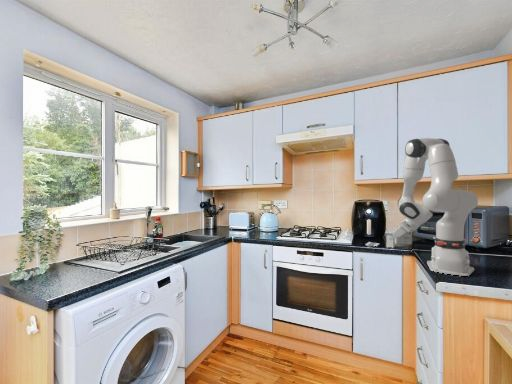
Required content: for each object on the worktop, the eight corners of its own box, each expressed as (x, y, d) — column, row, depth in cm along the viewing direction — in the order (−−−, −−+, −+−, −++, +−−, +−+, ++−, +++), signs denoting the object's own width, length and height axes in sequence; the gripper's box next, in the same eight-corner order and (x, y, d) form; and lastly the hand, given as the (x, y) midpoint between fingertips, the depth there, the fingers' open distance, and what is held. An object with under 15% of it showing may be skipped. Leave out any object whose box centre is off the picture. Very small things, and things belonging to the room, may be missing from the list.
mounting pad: (376, 246, 168) (376, 245, 168) (365, 245, 172) (365, 244, 172) (379, 244, 174) (379, 243, 174) (369, 242, 179) (368, 242, 179)
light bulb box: (407, 242, 179) (407, 227, 179) (412, 244, 173) (412, 229, 172) (392, 242, 180) (392, 227, 180) (396, 244, 174) (396, 229, 173)
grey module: (393, 248, 163) (393, 235, 163) (386, 247, 165) (386, 235, 165) (394, 246, 166) (394, 234, 166) (388, 246, 169) (388, 234, 169)
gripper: (407, 219, 168) (391, 232, 175) (401, 223, 153) (384, 237, 159) (414, 226, 166) (398, 239, 172) (410, 231, 150) (392, 245, 157)
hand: (391, 238), depth 166 cm, fingers open, 8 cm apart
